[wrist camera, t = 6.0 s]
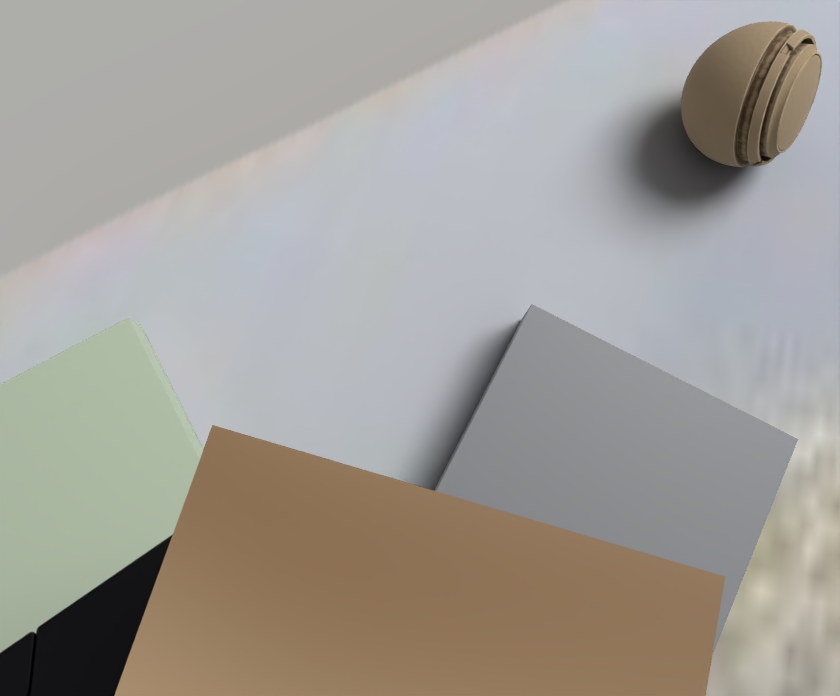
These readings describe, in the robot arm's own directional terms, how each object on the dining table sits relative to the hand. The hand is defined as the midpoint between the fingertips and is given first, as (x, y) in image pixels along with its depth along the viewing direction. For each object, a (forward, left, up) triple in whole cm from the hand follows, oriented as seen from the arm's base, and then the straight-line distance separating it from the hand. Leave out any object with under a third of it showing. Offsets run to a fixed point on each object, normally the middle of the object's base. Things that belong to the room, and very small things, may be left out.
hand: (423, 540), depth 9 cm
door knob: (+18, -7, -14) cm, 24 cm away
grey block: (+2, -6, -14) cm, 15 cm away
